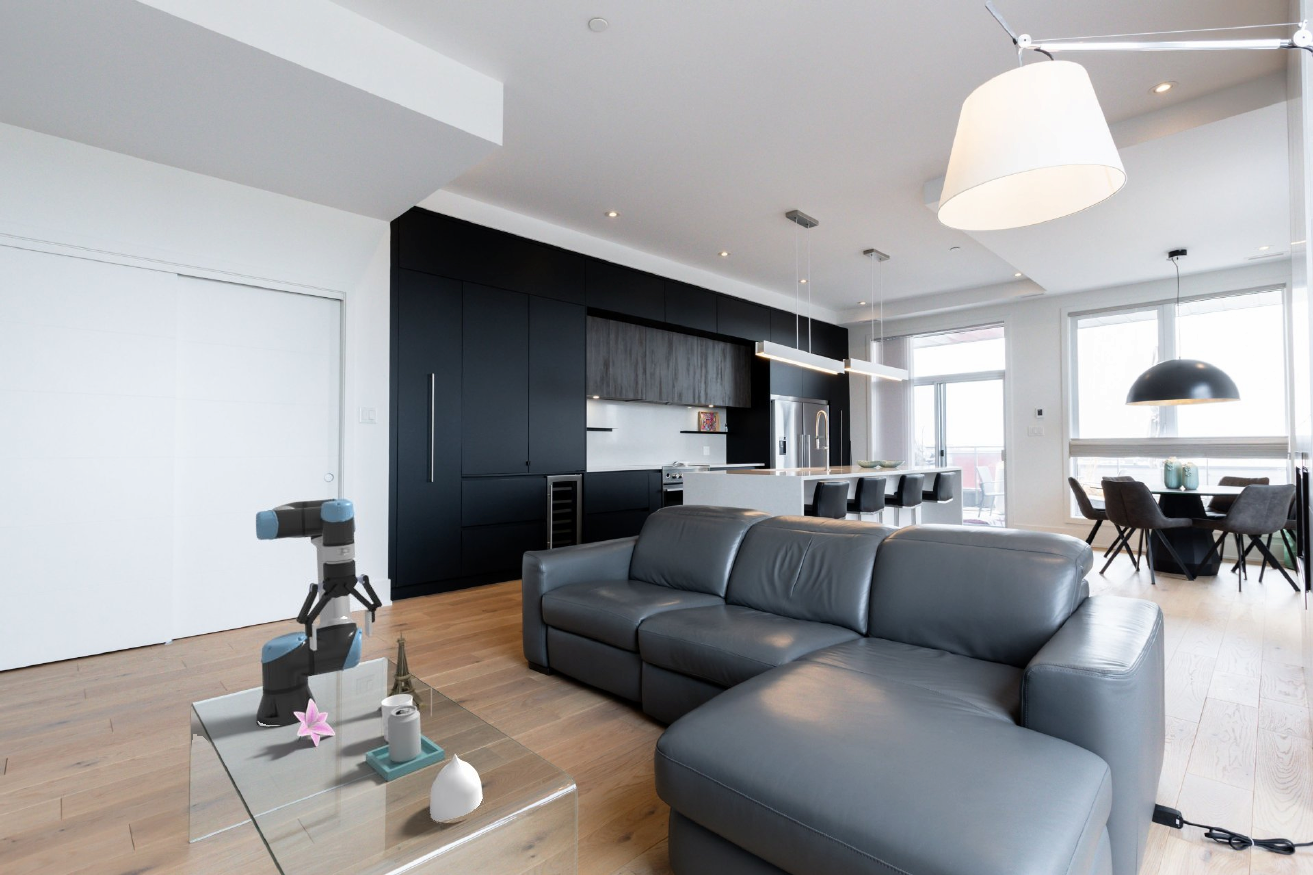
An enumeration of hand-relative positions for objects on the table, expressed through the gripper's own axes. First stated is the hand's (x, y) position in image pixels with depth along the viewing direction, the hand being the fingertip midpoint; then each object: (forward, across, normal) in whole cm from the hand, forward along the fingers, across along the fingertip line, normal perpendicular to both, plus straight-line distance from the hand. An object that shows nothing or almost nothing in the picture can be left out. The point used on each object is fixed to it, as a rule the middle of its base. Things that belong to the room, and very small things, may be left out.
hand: (341, 642), depth 163 cm
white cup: (+28, +12, -3) cm, 31 cm away
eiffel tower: (+29, +22, +14) cm, 39 cm away
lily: (+29, -4, +12) cm, 32 cm away
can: (+28, +8, -17) cm, 34 cm away
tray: (+28, +8, -17) cm, 34 cm away
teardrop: (+28, +7, -47) cm, 55 cm away
